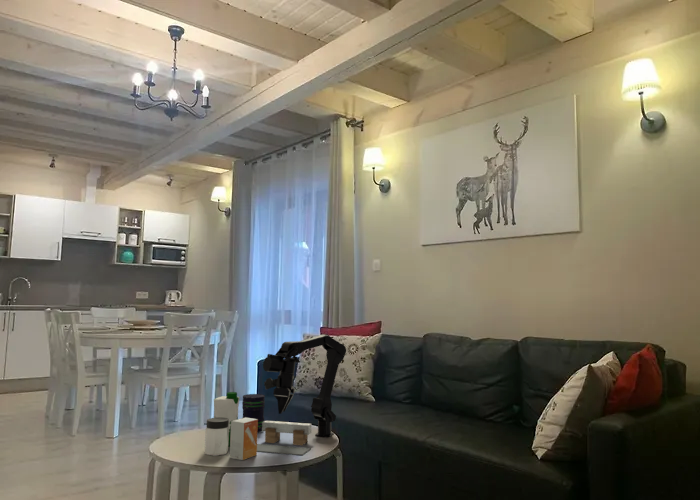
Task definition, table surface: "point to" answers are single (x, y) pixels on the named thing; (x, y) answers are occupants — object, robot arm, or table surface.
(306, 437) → the post
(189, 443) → the table surface
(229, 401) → the milk carton
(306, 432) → the long white bar
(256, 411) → the storage jar
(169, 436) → the table surface
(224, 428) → the jar
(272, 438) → the post
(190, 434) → the table surface
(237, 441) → the small box
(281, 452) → the mat
